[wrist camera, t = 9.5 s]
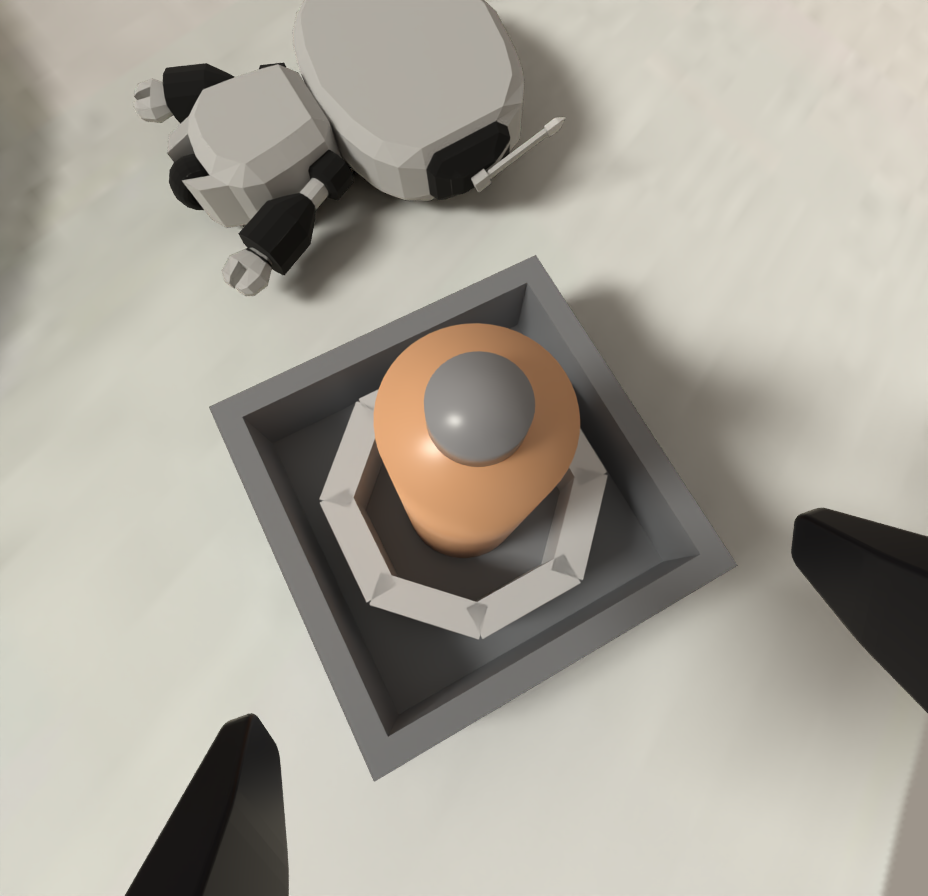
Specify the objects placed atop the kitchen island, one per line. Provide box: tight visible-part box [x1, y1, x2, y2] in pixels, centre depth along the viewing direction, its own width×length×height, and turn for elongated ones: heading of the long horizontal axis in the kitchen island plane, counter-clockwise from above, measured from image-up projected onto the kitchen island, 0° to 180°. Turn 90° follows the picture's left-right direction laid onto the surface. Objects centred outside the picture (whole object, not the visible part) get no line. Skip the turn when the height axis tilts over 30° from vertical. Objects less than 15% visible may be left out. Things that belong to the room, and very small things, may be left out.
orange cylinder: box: [374, 323, 580, 558], centre depth 15 cm, size 4×4×10 cm
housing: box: [209, 255, 738, 782], centre depth 19 cm, size 12×12×4 cm
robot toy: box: [133, 0, 566, 296], centre depth 23 cm, size 12×4×15 cm
